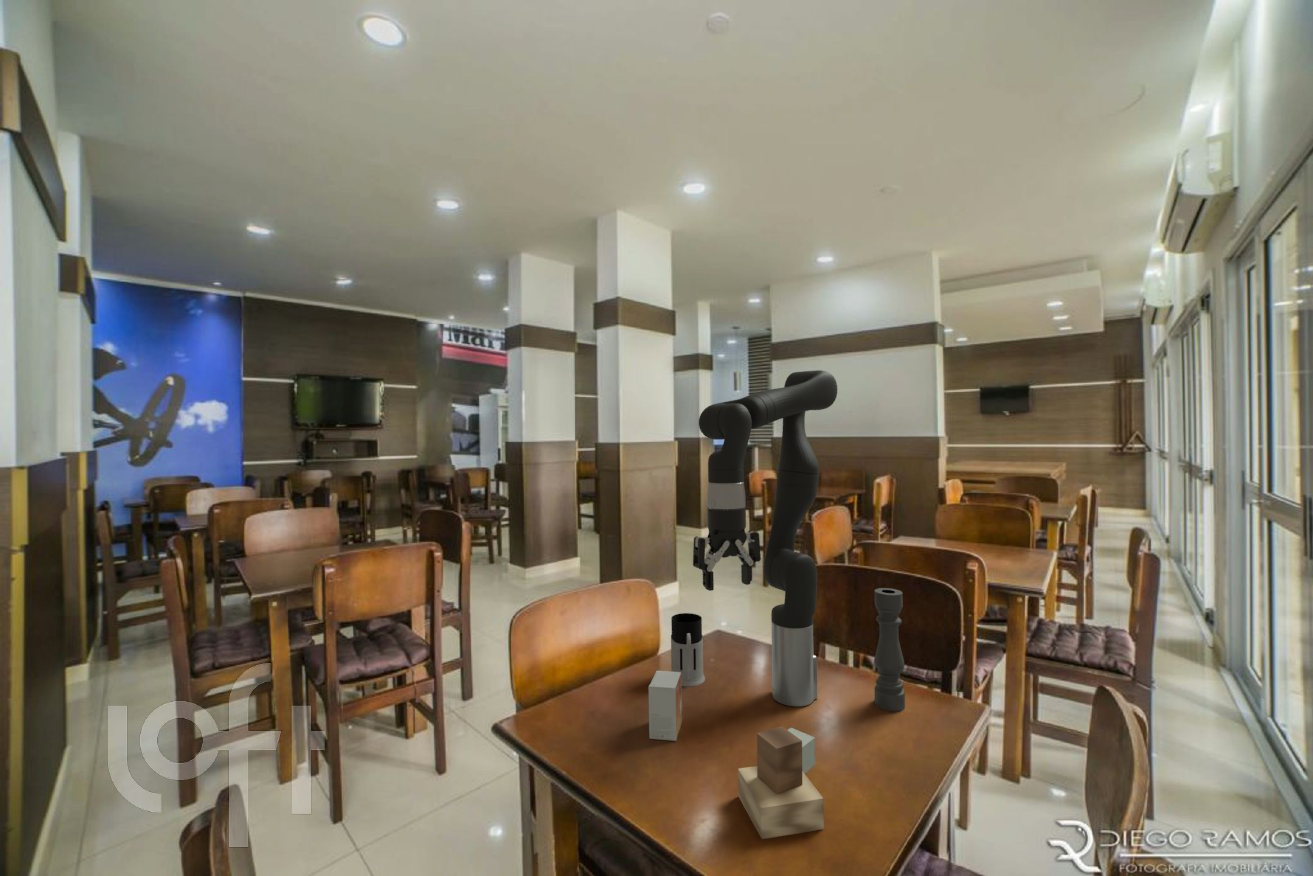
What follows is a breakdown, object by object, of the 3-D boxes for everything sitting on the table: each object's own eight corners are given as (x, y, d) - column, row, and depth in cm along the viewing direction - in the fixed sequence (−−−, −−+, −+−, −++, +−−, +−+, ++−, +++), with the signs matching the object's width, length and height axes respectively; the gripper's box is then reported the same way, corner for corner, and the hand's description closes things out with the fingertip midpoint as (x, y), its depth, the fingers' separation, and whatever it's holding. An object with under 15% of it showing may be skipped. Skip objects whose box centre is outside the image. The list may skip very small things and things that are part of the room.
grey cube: (791, 754, 104) (790, 727, 104) (815, 765, 101) (815, 737, 101) (776, 765, 101) (775, 737, 101) (800, 777, 97) (800, 748, 97)
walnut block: (781, 768, 92) (781, 726, 92) (802, 785, 87) (802, 740, 87) (757, 776, 90) (756, 733, 90) (776, 794, 85) (776, 748, 85)
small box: (676, 742, 109) (675, 688, 109) (648, 739, 110) (647, 686, 110) (682, 721, 116) (682, 671, 116) (656, 719, 118) (656, 669, 118)
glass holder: (703, 670, 142) (702, 612, 141) (709, 696, 127) (708, 631, 127) (669, 671, 141) (668, 612, 141) (671, 697, 127) (670, 632, 127)
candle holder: (908, 703, 123) (907, 590, 123) (900, 714, 118) (898, 597, 118) (880, 695, 127) (878, 586, 127) (870, 705, 122) (869, 592, 122)
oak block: (794, 790, 94) (794, 760, 94) (823, 831, 84) (823, 798, 84) (738, 798, 92) (738, 768, 92) (761, 841, 82) (761, 808, 82)
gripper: (745, 500, 116) (747, 578, 116) (685, 505, 110) (687, 587, 110) (767, 504, 109) (768, 586, 109) (704, 509, 103) (706, 596, 103)
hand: (727, 586), depth 110 cm, fingers open, 8 cm apart
